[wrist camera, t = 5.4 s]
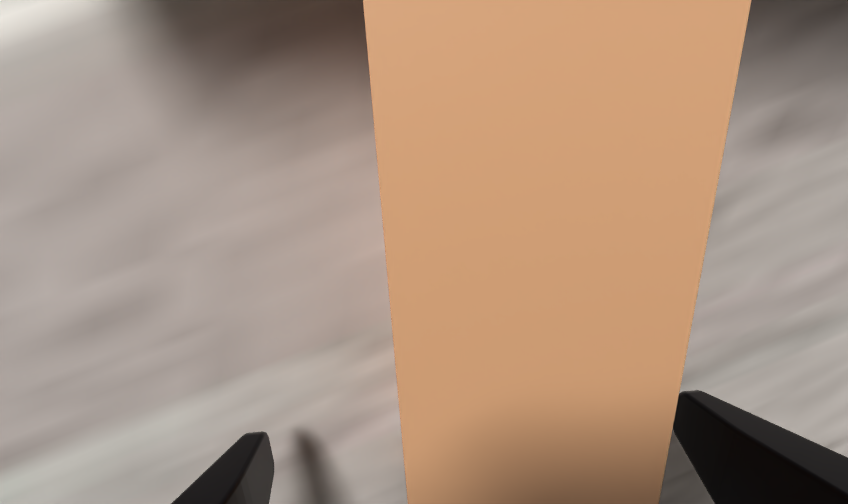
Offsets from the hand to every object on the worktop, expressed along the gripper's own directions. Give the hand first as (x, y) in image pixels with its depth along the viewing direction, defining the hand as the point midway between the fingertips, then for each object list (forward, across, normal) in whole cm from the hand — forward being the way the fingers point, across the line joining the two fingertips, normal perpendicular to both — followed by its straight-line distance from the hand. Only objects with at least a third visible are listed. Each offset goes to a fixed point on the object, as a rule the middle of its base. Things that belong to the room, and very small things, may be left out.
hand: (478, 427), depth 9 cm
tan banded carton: (+2, 0, -4) cm, 5 cm away
